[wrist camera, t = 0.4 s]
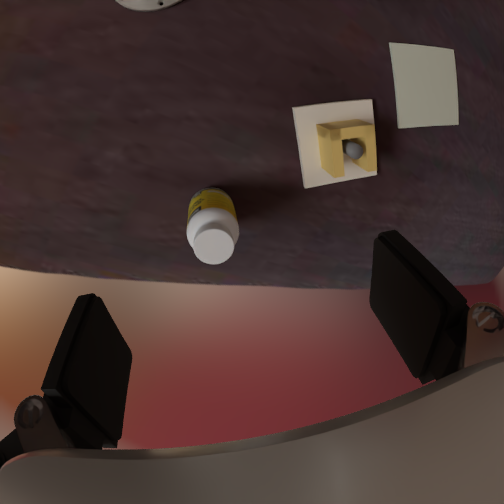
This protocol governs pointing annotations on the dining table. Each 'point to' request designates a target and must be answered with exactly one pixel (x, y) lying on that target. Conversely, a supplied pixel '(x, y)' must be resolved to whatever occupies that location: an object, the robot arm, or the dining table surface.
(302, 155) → the stand
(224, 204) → the pill bottle
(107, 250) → the dining table surface
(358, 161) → the c link
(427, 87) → the mat
